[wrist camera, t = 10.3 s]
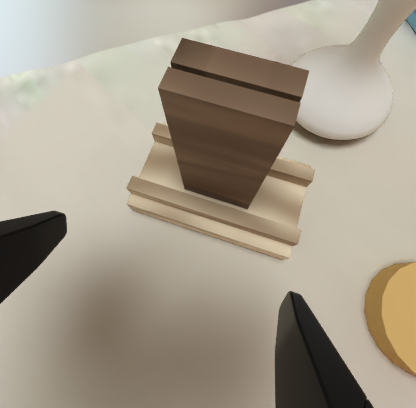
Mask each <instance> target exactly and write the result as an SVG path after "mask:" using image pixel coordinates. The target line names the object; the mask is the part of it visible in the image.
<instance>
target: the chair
mask: <svg viewBox="0 0 416 408" xmlns="http://www.w3.org/2000/svg"><path fill="white" fill-rule="evenodd" d="M406 20H407V21H408V23H409V24H410V25H411V27H412V28H413V30H414V31H415V33H416V9H415V10H414V11H413V12H412V13H411V14H410V15H409V16H408V17H407V19H406Z"/></svg>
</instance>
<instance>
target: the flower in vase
mask: <svg viewBox="0 0 416 408" xmlns="http://www.w3.org/2000/svg"><path fill="white" fill-rule="evenodd" d="M415 9H416V0H379V1H378V3H377V5H376V7H375V9H374V11H373V13H372V15H371V17H370V18H369V20H368V22H367V23H366V25H365V27H364V28H363V30H362V31H361V33H360V34H359V35H358V37H357V38H356V39H355V40H354V41H353V42H352V43H350V44H349V45H332V46H326V47H322V48H318V49H315V50H312V51H310V52H308V53H306V54H304V55H302V56H301V57H300V58H299V59H298V60H297V61H296V62H295V63H294V64H293V65H292V66H294V67H298V68H301V69H305V70H309V74H308V78H307V82H306V85H305V89H304V93H303V97H302V99H301V101H300V103H301V104H300V108H299V111H298V115H297V119H296V121H297V122H298V123H299V124H300V125H301V126H302V127H304V128H305V129H306V130H308V131H310V132H312V133H314V134H316V135H318V136H321V137H324V138H328V139H335V140H351V139H357V138H361V137H364V136H367V135H369V134H371V133H373V132H374V131H376V130H377V129H378V128H379V127H381V126H382V124H383V123H384V122H385V120H386V119H387V117H388V115H389V112H390V110H391V107H392V104H393V90H392V85H391V81H390V78H389V75H388V73H387V71H386V70H385V68H384V66H383V65H382V63H381V62H380V59H379V58H380V54H381V52H382V50H383V49H384V47H385V45H386V44H387V42H388V41H389V40H390V38H391V37H392V35H393V34H394V33H395V32H396V30H397V29H398V28H399V27H400V25H401V24H402V23H403V22H404V21H405V20H406V19H407V17H408V16H409V15H410V14H411V13H412V12H413V11H414V10H415Z"/></svg>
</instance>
